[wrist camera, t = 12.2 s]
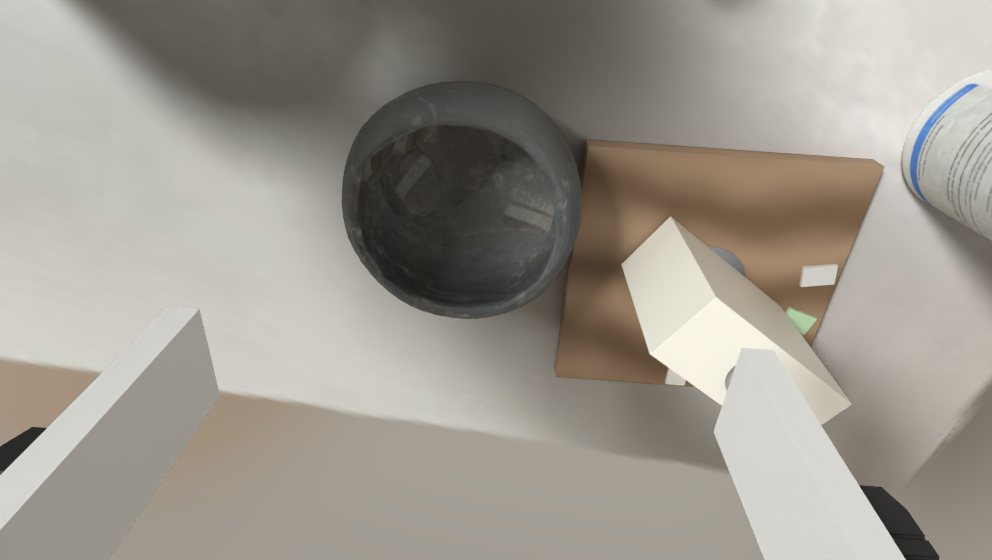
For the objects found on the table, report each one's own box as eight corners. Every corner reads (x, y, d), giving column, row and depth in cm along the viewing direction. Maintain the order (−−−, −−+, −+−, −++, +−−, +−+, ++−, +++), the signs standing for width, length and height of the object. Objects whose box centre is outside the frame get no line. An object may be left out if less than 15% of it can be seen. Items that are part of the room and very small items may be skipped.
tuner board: (586, 139, 40) (588, 146, 39) (872, 159, 40) (885, 167, 39) (554, 365, 50) (555, 377, 49) (784, 382, 50) (791, 394, 49)
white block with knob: (621, 264, 43) (652, 362, 33) (670, 216, 41) (720, 304, 31) (761, 371, 47) (827, 487, 37) (812, 332, 45) (897, 443, 35)
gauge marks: (698, 254, 43) (699, 256, 42) (840, 264, 43) (842, 266, 42) (664, 381, 49) (665, 384, 48) (788, 390, 49) (790, 393, 48)
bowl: (382, 264, 46) (350, 337, 37) (353, 67, 38) (304, 101, 30) (570, 262, 45) (581, 336, 36) (577, 61, 38) (593, 93, 29)
